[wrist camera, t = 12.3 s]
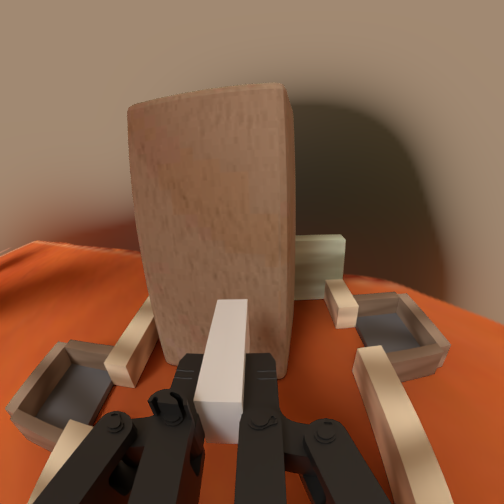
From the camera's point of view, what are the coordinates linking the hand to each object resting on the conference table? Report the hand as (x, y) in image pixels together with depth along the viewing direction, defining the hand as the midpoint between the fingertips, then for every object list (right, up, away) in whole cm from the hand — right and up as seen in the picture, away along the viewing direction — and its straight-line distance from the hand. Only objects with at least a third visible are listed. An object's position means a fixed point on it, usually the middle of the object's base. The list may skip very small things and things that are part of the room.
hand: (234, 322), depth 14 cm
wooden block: (-1, -5, +11) cm, 12 cm away
